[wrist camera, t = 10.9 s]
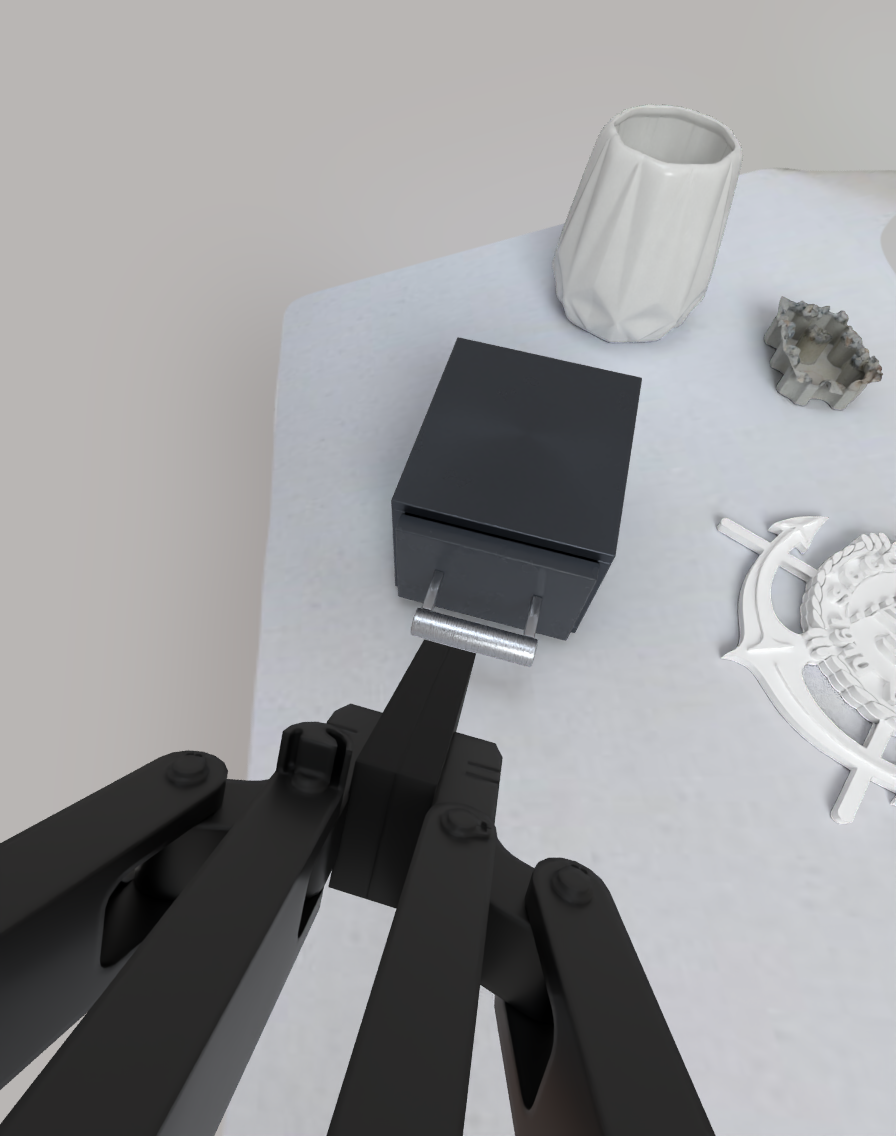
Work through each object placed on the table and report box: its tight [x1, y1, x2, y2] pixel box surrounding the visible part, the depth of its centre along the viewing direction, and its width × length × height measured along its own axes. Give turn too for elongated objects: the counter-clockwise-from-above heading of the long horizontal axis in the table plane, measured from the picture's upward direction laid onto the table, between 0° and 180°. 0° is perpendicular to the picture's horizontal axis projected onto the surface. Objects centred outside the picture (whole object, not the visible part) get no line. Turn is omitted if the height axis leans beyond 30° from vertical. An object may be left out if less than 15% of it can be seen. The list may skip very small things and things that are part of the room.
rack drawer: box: [396, 514, 599, 667], centre depth 39 cm, size 18×11×8 cm, turn 165°
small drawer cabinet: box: [391, 338, 642, 633], centre depth 41 cm, size 15×13×10 cm
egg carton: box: [764, 296, 883, 410], centre depth 54 cm, size 11×8×4 cm
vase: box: [552, 104, 743, 343], centre depth 53 cm, size 14×14×15 cm
